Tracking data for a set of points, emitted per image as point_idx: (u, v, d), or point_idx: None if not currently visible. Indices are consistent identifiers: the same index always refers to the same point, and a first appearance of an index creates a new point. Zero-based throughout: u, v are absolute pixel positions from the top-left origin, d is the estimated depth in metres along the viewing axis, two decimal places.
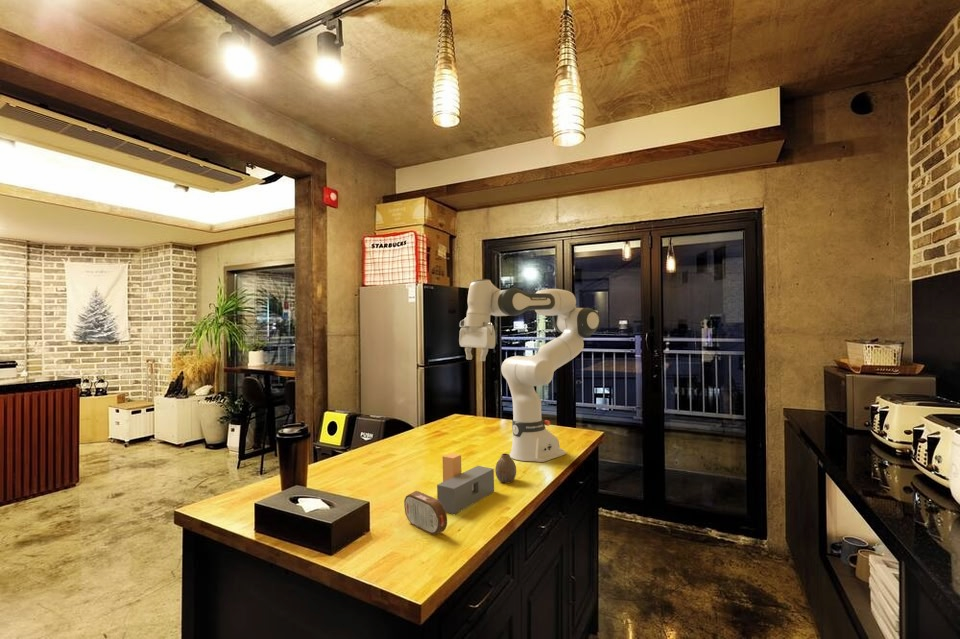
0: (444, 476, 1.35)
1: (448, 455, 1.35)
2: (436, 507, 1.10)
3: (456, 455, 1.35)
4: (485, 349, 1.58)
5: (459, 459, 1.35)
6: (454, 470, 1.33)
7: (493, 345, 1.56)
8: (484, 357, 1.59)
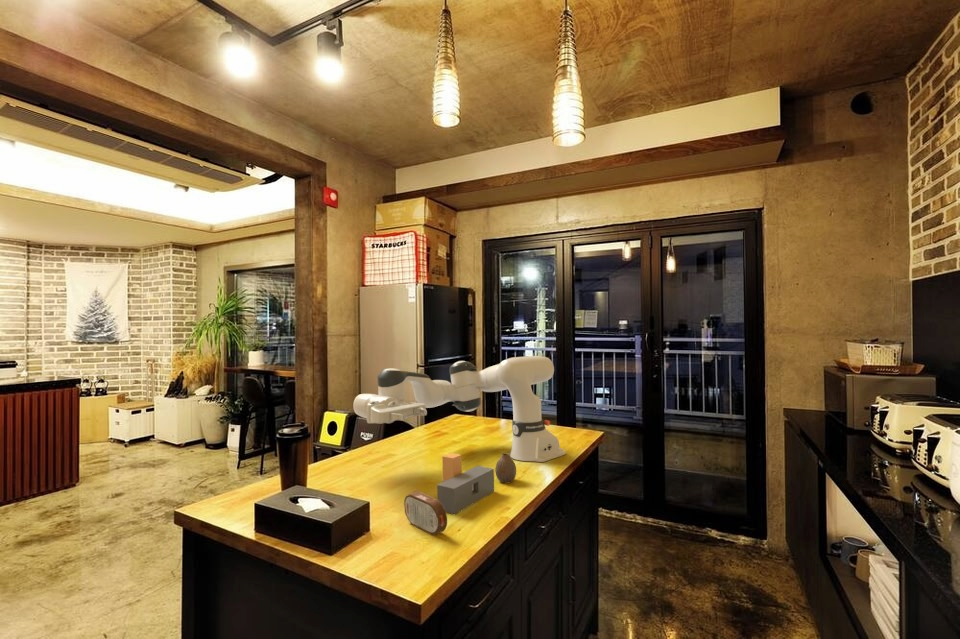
0: (444, 476, 1.35)
1: (448, 455, 1.35)
2: (436, 507, 1.10)
3: (456, 455, 1.35)
4: None
5: (459, 459, 1.35)
6: (454, 470, 1.33)
7: None
8: None
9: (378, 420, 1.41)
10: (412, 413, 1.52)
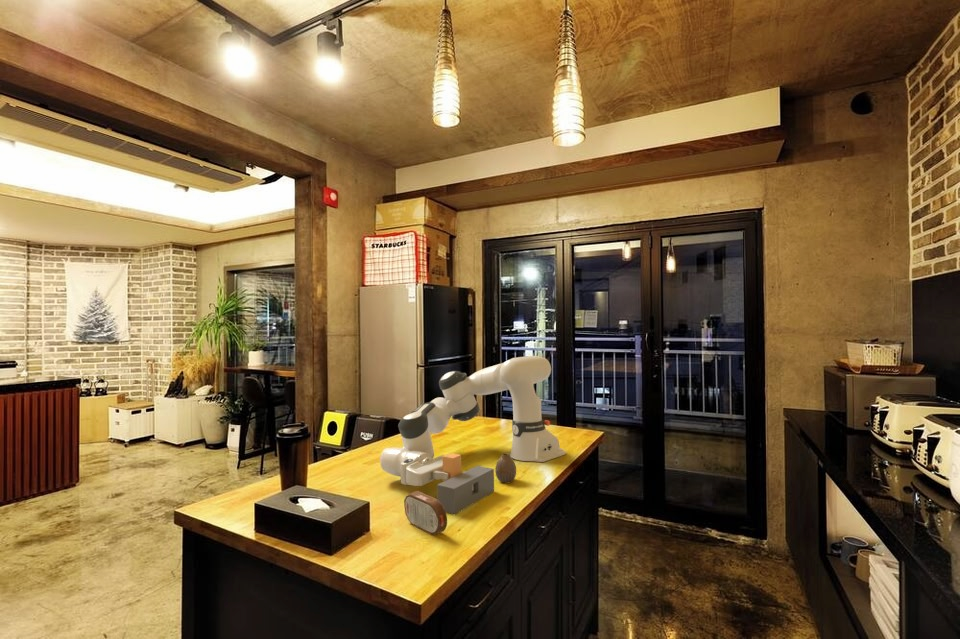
0: None
1: (448, 455, 1.35)
2: (436, 507, 1.10)
3: (456, 455, 1.35)
4: None
5: (459, 459, 1.35)
6: (454, 470, 1.33)
7: None
8: None
9: (417, 482, 1.30)
10: None
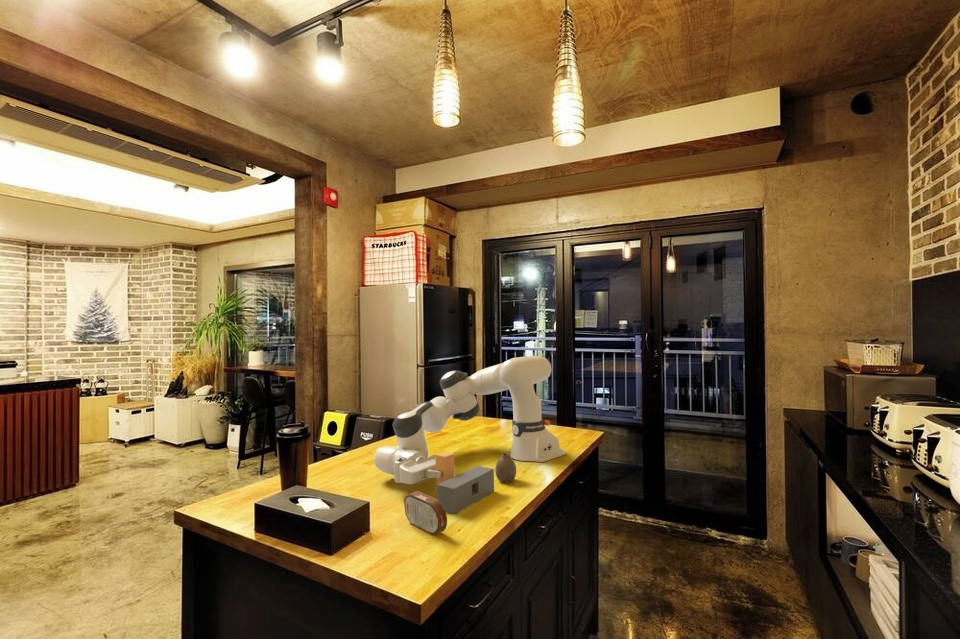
0: None
1: (441, 454, 1.37)
2: (436, 507, 1.10)
3: (449, 454, 1.37)
4: None
5: (452, 458, 1.37)
6: (447, 468, 1.35)
7: None
8: None
9: (410, 480, 1.31)
10: None
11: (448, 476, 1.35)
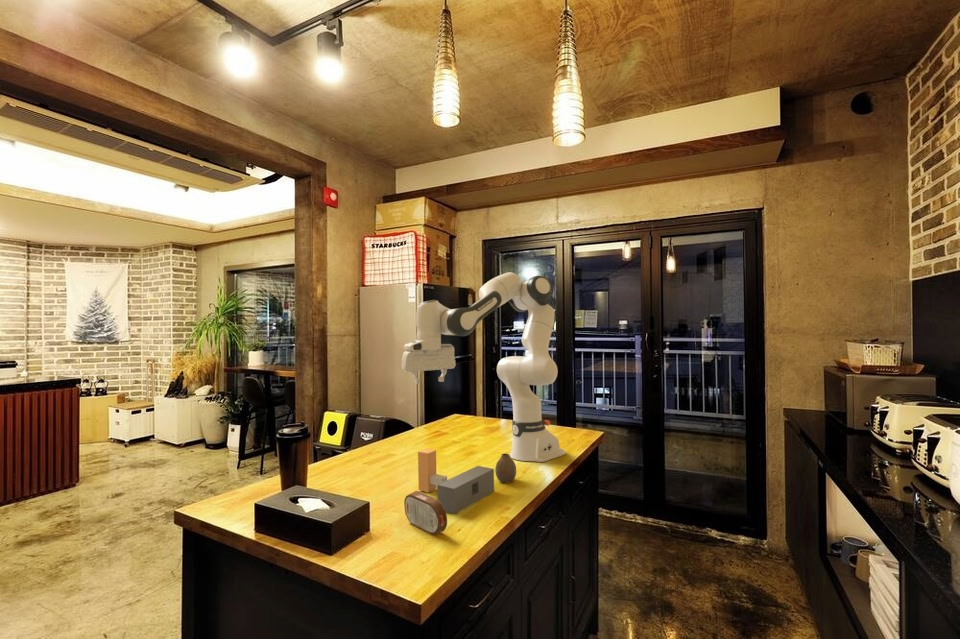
0: (419, 470, 1.40)
1: (424, 451, 1.41)
2: (436, 507, 1.10)
3: (431, 450, 1.41)
4: None
5: (434, 454, 1.41)
6: (428, 464, 1.39)
7: None
8: None
9: (402, 368, 1.58)
10: None
11: (429, 472, 1.39)
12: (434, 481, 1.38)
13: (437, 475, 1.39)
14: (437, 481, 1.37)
